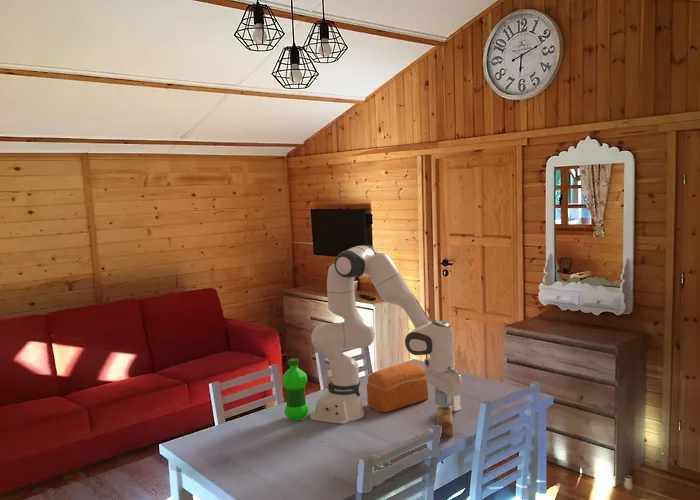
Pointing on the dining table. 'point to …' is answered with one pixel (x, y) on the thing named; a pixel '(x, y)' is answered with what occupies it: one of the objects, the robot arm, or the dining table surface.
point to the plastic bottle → (295, 391)
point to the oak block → (444, 414)
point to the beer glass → (457, 400)
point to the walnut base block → (446, 428)
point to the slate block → (442, 399)
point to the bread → (396, 387)
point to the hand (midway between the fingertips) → (443, 400)
